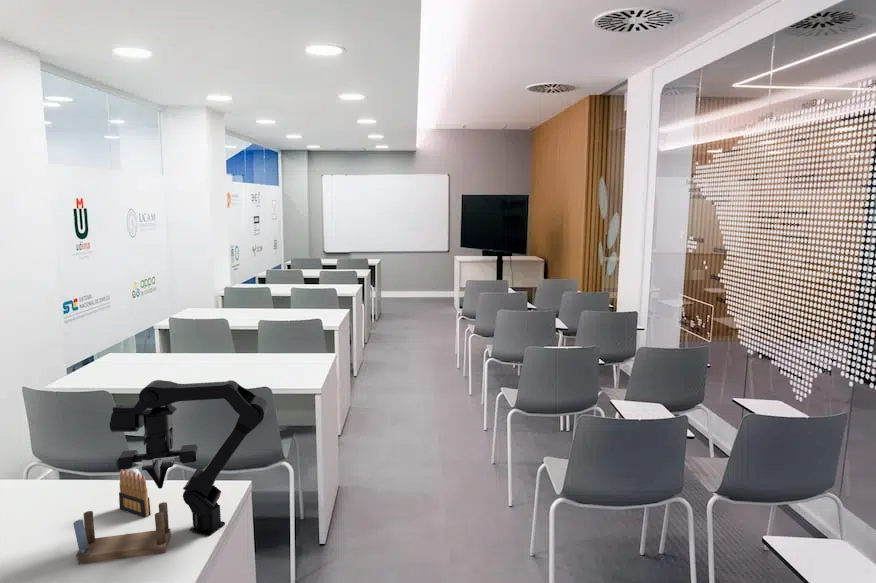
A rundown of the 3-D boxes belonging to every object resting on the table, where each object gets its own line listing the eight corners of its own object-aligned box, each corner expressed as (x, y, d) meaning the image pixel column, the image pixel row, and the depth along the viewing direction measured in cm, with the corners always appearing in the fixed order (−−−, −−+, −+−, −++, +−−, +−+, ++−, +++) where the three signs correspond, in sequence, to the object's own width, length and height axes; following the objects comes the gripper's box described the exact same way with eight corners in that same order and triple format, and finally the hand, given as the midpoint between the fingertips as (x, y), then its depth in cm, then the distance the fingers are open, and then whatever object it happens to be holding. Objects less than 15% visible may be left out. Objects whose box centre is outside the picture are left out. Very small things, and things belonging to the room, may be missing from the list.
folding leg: (90, 547, 144) (84, 518, 143) (87, 552, 142) (81, 523, 141) (81, 549, 144) (75, 520, 143) (78, 554, 142) (71, 525, 140)
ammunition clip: (151, 515, 165) (148, 474, 163) (145, 518, 163) (142, 476, 162) (125, 506, 170) (122, 466, 168) (119, 509, 168) (116, 469, 166)
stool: (170, 535, 154) (168, 500, 153) (165, 552, 147) (163, 516, 145) (86, 546, 149) (83, 510, 148) (76, 565, 142) (73, 527, 140)
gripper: (199, 416, 163) (202, 470, 165) (124, 422, 158) (128, 478, 160) (194, 431, 152) (197, 488, 155) (113, 438, 147) (118, 497, 150)
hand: (160, 487), depth 155 cm, fingers closed
